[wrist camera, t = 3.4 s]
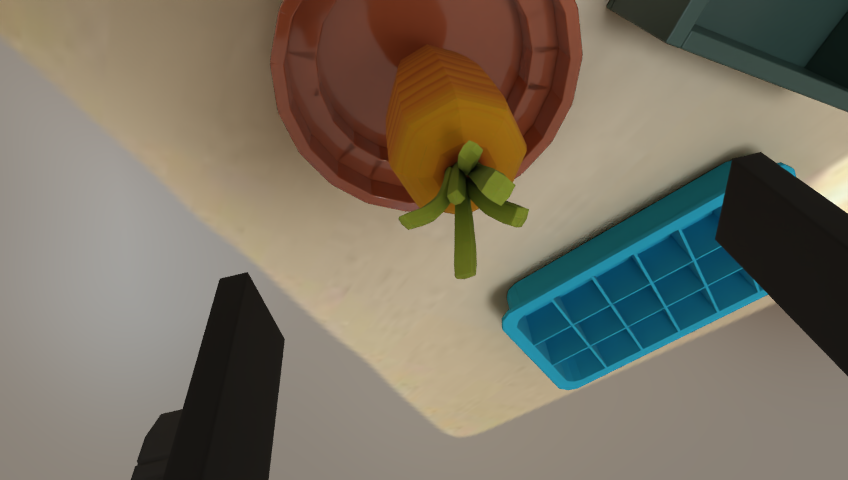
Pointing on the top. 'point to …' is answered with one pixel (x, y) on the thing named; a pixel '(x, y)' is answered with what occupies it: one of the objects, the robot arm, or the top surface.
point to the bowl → (377, 66)
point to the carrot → (453, 146)
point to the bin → (758, 38)
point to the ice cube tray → (631, 288)
